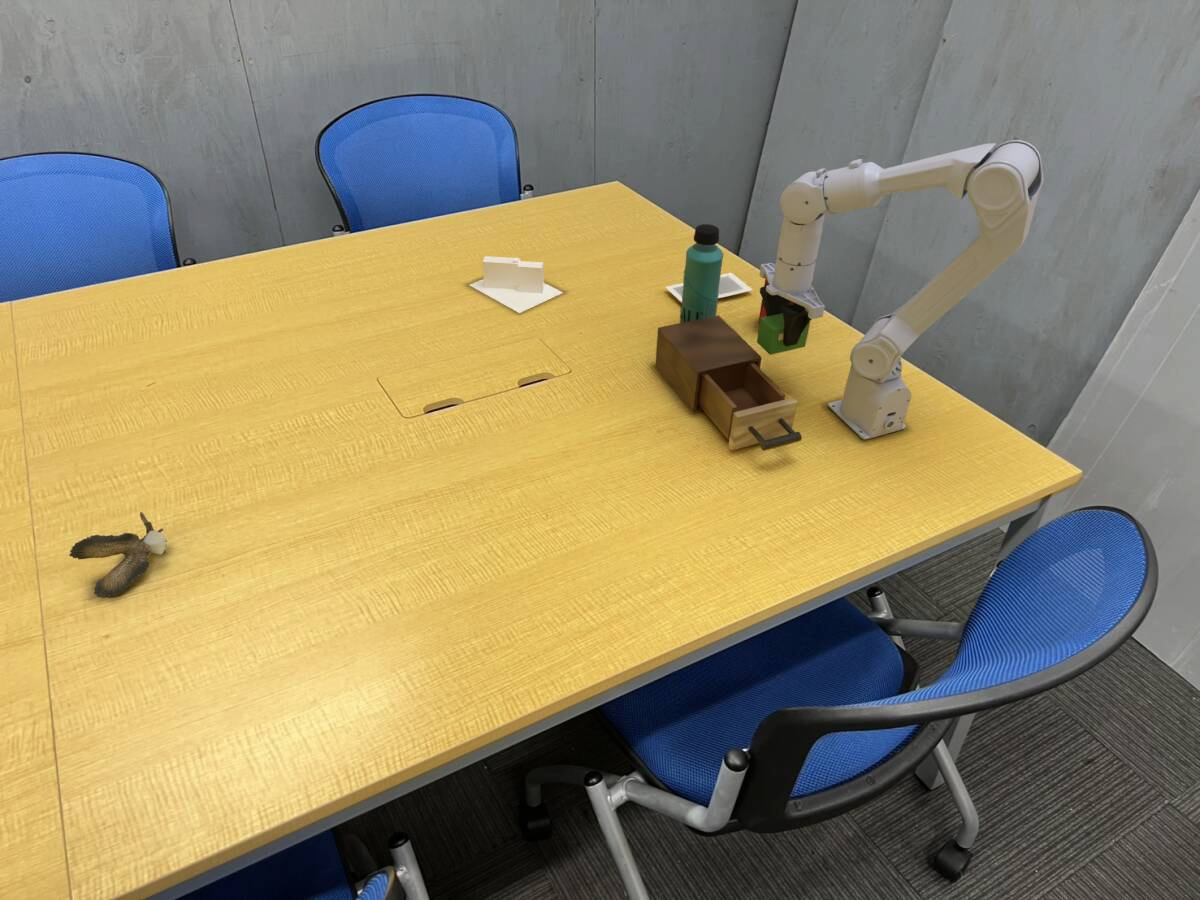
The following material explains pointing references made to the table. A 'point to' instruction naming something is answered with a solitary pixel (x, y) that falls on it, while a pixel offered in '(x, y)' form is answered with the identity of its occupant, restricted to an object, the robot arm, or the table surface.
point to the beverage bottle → (701, 275)
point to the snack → (777, 335)
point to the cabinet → (699, 354)
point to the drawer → (748, 407)
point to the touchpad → (726, 287)
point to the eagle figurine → (132, 556)
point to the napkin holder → (515, 282)
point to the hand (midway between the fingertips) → (782, 336)
